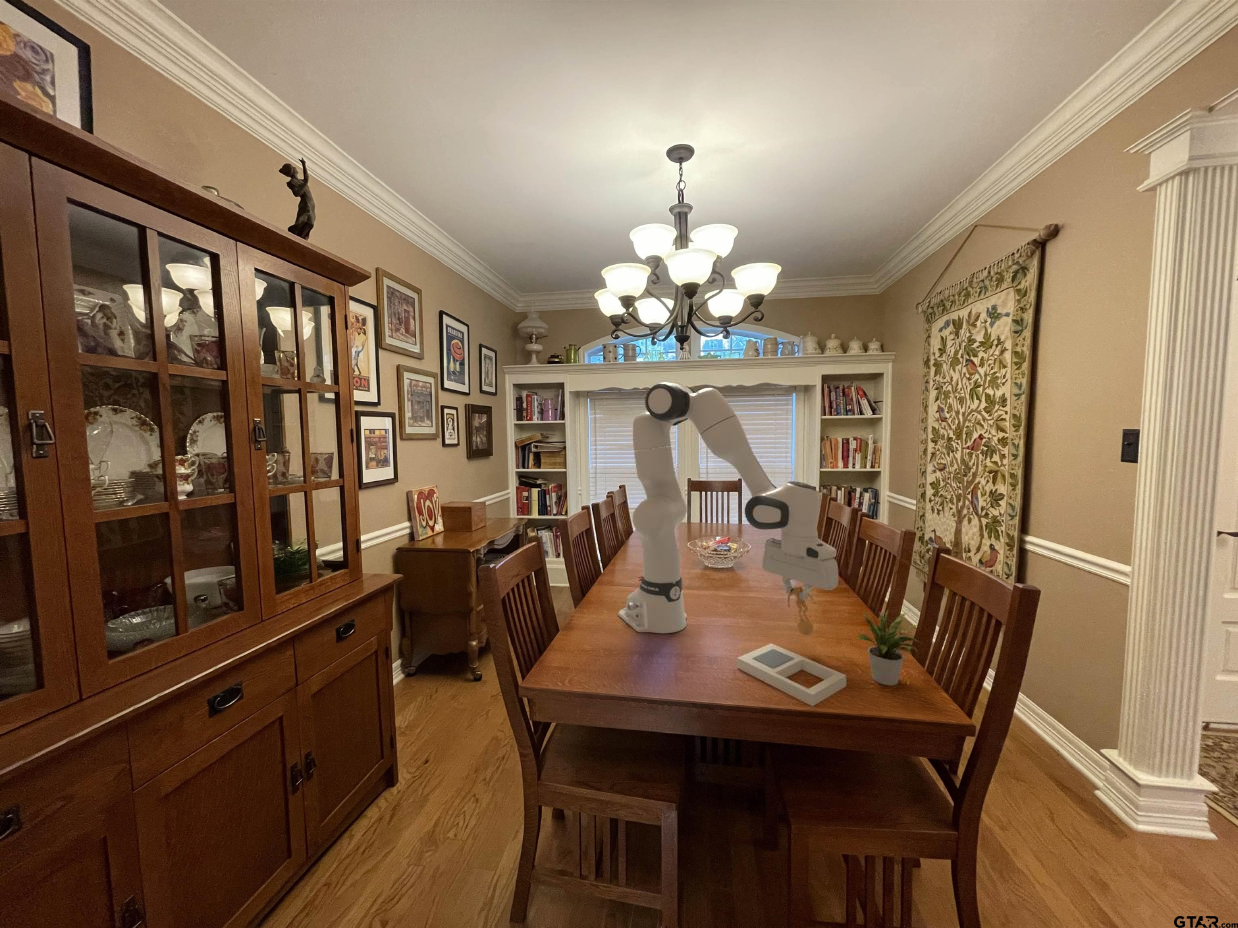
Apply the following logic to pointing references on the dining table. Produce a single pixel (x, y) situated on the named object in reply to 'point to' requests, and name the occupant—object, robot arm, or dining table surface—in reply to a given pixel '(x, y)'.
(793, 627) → the dining table surface
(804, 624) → the figurine
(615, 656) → the dining table surface
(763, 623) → the dining table surface
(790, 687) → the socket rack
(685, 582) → the dining table surface
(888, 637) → the house plant
